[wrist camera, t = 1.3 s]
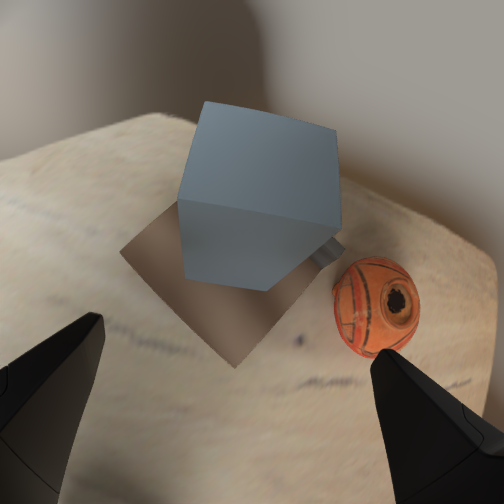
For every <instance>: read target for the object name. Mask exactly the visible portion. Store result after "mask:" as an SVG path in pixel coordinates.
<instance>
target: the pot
mask: <svg viewBox="0 0 504 504" xmlns="http://www.w3.org/2000/svg"><path fill="white" fill-rule="evenodd" d="M332 293H333V295H334V296H335V302H334V314H335V319H336V323H337V327H338V330H339V332H340V335H341V337H342V339H343V340H344V341H345V343H346V344H347V345H348V346H349V347H350V348H351V349H352V350H353V351H355V352H356V353H358V354H359V355H361V356H363V357H366V358H376V356H377V355H378V353H379V351H380V350H381V349H384V348H391V349H394V350H395V351H396V352H398V351H400V350H401V349H402V348H403V347H405V345H406V344H407V343H408V342H409V341H410V339H411V338H412V336H413V335H414V333H415V331H416V329H417V326H418V323H419V317H420V300H419V296H418V292H417V289H416V287H415V284H414V282H413V280H412V279H411V277H410V276H409V274H408V273H407V272H406V271H405V270H404V269H403V268H402V267H401V266H400V265H398V264H397V263H395V262H393V261H391V260H389V259H387V258H383V257H370V258H365V259H361V260H359V261H357V262H355V263H353V264H352V265H351V266H350V267H349V268H348V269H347V270H346V272H345V273H344V274H343V276H342V278H341V280H340V282H339V283H337V284H336V285H335V287H334V288H333V291H332Z"/></svg>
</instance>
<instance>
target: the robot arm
mask: <svg viewBox="0 0 504 504" xmlns="http://www.w3.org/2000/svg"><path fill="white" fill-rule="evenodd" d="M104 342H105V328H104V320H103V316H102V315H101V314H98V313H94V312H88V313H87V314H85V315H84V316H82V317H80V318H79V319H77V320H76V321H74V322H72V323H71V324H69V325H68V326H66V327H64V328H63V329H61V330H60V331H58V332H57V333H55V334H53V335H52V336H50V337H49V338H47V339H46V340H44V341H43V342H41V343H40V344H38V345H36V346H35V347H33V348H32V349H30V350H29V351H27V352H26V353H24V354H23V355H21V356H20V357H18V358H17V359H15V360H14V361H12V362H11V363H9V364H8V366H5V367H3V368H2V369H0V504H57V503H58V499H59V494H60V490H61V486H62V482H63V478H64V474H65V470H66V466H67V463H68V459H69V456H70V452H71V449H72V446H73V442H74V439H75V436H76V433H77V430H78V427H79V424H80V421H81V418H82V415H83V412H84V409H85V406H86V403H87V400H88V398H89V395H90V392H91V389H92V387H93V384H94V380H95V376H96V372H97V368H98V364H99V361H100V357H101V353H102V350H103V346H104ZM370 373H371V379H372V385H373V391H374V398H375V405H376V410H377V414H378V418H379V422H380V427H381V431H382V435H383V440H384V444H385V449H386V453H387V458H388V463H389V468H390V473H391V478H392V484H393V489H394V495H395V501H396V504H504V433H503V432H502V431H500V430H499V429H497V428H496V427H494V426H493V425H491V424H490V423H488V422H487V421H485V420H484V419H483V418H481V417H480V416H478V415H477V414H476V413H474V412H473V411H472V410H470V409H469V408H468V407H467V406H465V405H464V404H463V403H461V402H460V401H459V400H458V399H456V398H455V397H454V396H453V395H451V394H450V393H449V392H447V391H446V390H445V389H444V388H442V387H441V386H440V385H438V384H437V383H436V382H435V381H433V380H432V379H431V378H430V377H428V376H427V375H426V374H424V373H423V372H422V371H421V370H419V369H418V368H417V367H415V366H414V365H413V364H412V363H410V362H409V361H408V360H406V359H405V358H404V357H403V356H401V355H400V354H399V353H397V352H396V351H395V350H394V349H391V348H384V349H381V350H380V351H379V353H378V355H377V356H376V358H375V360H374V361H373V363H372V364H371V368H370Z"/></svg>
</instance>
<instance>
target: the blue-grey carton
mask: <svg viewBox="0 0 504 504" xmlns="http://www.w3.org/2000/svg"><path fill="white" fill-rule="evenodd" d="M177 204H178V215H179V226H180V236H181V246H182V255H183V264H184V272H185V279H188V280H195V281H201V282H207V283H213V284H220V285H226V286H233V287H240V288H246V289H253V290H260V291H268V290H269V289H270V288H271V287H273V286H274V285H275V284H276V283H277V282H279V281H280V280H281V279H282V278H284V277H285V276H286V275H287V274H288V273H290V272H291V271H292V270H293V269H294V268H296V267H297V266H298V265H299V264H300V263H302V262H303V261H304V260H305V259H306V258H308V257H309V256H310V255H311V254H312V253H314V252H315V251H316V250H317V249H318V248H319V247H321V246H322V245H323V244H324V243H325V242H327V241H328V240H329V239H330V238H331V237H332V236H334V235H335V234H336V233H337V232H338V231H339V230H340V229H341V197H340V176H339V161H338V147H337V136H336V130H332V129H329V128H325V127H322V126H319V125H315V124H311V123H308V122H304V121H301V120H297V119H292V118H289V117H284V116H280V115H276V114H271V113H267V112H262V111H258V110H253V109H248V108H243V107H237V106H232V105H226V104H220V103H214V102H207V101H206V102H205V103H204V106H203V109H202V112H201V116H200V118H199V122H198V125H197V128H196V131H195V135H194V138H193V141H192V145H191V148H190V152H189V155H188V159H187V162H186V166H185V170H184V173H183V177H182V181H181V185H180V189H179V193H178V197H177Z"/></svg>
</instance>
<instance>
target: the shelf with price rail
mask: <svg viewBox="0 0 504 504" xmlns="http://www.w3.org/2000/svg"><path fill="white" fill-rule="evenodd" d="M344 250H345V248H344V247H343V246H342V245H341V244H340V243H339V242H338V241H337V240H336V239H335V238H333V237H331V238H330V239H329V240H328V241H327V242H325V243H324V244H323V245H322V246H321V247H319V248H318V249H317V250H316V251H315V252H314V253H312V254H311V255H310V256H309V257H308V258H306V259H305V260H304V261H303V262H302V263H300V264H299V265H298V266H297V267H296V268H294V269H293V270H292V271H291V272H290V273H288V274H287V275H286V276H285V277H284V278H282V279H281V280H280V281H279V282H277V283H276V284H275V285H274V286H273V287H271V288H270V289H269V290H268V291H260V290H253V289H246V288H240V287H233V286H226V285H220V284H213V283H207V282H201V281H195V280H188V279H185V272H184V264H183V255H182V246H181V236H180V226H179V215H178V204H177V201H176V202H175V203H174V204H173V205H172V206H170V207H169V208H168V209H167V210H166V211H164V212H163V213H162V214H161V215H160V216H159V217H157V218H156V219H155V220H154V221H153V222H152V223H151V224H149V225H148V226H147V227H146V228H145V229H144V230H143V231H141V232H140V233H139V234H138V235H137V236H136V237H135V238H134V239H133V240H131V241H130V242H129V243H128V244H127V245H126V246H125V247H124V248H123V249H122V250H121V251H120V253H121V255H122V256H123V257H124V258H125V260H126V261H127V262H128V263H129V264H130V265H131V266H132V267H133V269H134V270H135V271H136V272H137V273H138V274H139V275H140V276H141V277H142V278H143V280H144V281H145V282H146V283H147V284H148V285H149V286H150V287H151V288H152V289H153V290H154V291H155V292H156V293H157V294H158V296H159V297H160V298H161V299H162V300H163V301H164V302H165V303H166V304H167V305H168V306H169V307H170V308H171V309H172V310H173V311H174V312H175V313H176V314H177V315H178V316H179V317H180V318H181V319H182V320H183V321H184V322H185V323H186V324H187V325H188V326H189V327H190V328H191V329H192V330H193V331H194V332H195V333H196V334H197V335H198V336H200V337H201V338H202V339H203V340H204V341H205V342H206V343H207V344H208V345H209V346H210V347H211V348H212V349H213V350H214V351H216V352H217V353H218V354H219V355H220V356H221V357H222V358H223V359H224V360H225V361H227V362H228V363H229V364H230V365H231V366H232V367H233V368H236V367H237V366H238V365H239V364H240V363H241V362H242V360H243V359H244V358H245V357H246V356H247V355H248V354H249V353H250V352H251V351H252V350H253V349H254V347H255V346H256V345H257V344H258V343H259V342H260V341H261V340H262V339H263V337H264V336H265V335H266V334H267V333H268V332H269V331H270V330H271V328H272V327H273V326H274V325H275V324H276V323H277V322H278V320H279V319H280V318H281V317H282V316H283V315H284V314H285V312H286V311H287V310H288V309H289V308H290V307H291V305H292V304H293V303H294V302H295V301H296V300H297V298H298V297H299V296H300V295H301V294H302V292H303V291H304V290H305V289H306V288H307V286H308V285H309V284H310V283H311V282H312V280H313V279H314V278H315V277H316V276H317V274H318V273H319V272H320V271H321V269H323V268H324V267H326V266H327V265H329V264H330V263H332V262H333V261H335V260H336V259H338V258H339V256H340V255H341V254H342V253H343V251H344Z"/></svg>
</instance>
